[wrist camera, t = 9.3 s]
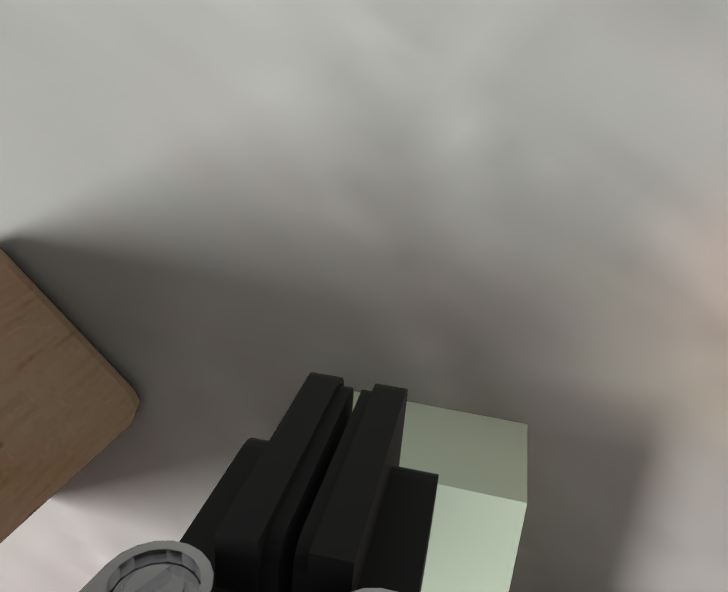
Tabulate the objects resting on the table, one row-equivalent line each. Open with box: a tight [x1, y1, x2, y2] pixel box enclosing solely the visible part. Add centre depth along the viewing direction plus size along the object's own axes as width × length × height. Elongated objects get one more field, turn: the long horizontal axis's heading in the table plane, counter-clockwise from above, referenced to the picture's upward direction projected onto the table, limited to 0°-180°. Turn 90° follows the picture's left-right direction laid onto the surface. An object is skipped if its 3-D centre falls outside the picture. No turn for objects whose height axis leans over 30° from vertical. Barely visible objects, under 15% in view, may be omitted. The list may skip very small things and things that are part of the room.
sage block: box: [352, 391, 527, 592], centre depth 25 cm, size 9×8×5 cm
